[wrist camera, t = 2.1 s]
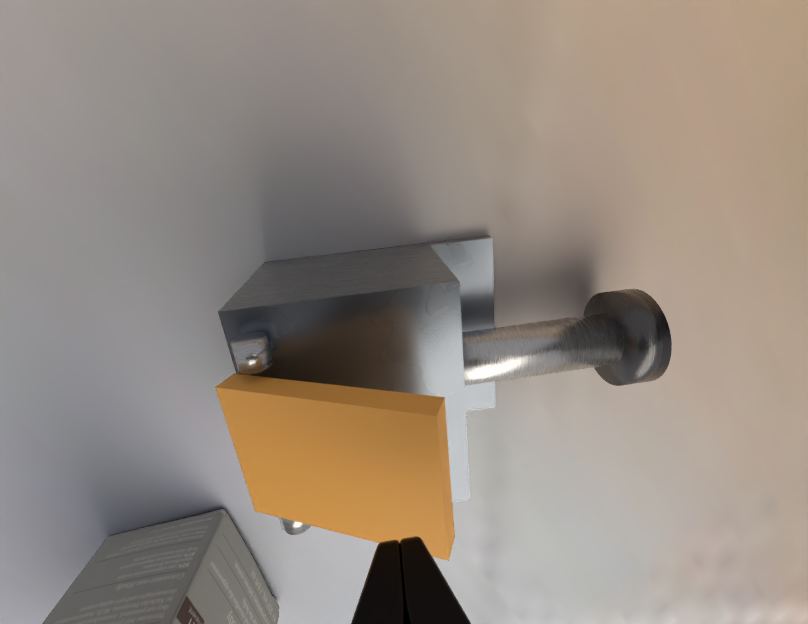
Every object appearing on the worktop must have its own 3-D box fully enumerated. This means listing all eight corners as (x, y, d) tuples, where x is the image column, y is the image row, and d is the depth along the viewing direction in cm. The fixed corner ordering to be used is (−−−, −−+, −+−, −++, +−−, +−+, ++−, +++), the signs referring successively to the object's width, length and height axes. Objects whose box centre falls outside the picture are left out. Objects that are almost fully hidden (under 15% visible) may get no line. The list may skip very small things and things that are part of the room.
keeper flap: (444, 397, 9) (436, 416, 8) (454, 536, 10) (448, 560, 10) (234, 373, 11) (215, 387, 10) (269, 492, 13) (255, 511, 12)
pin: (613, 277, 16) (678, 307, 13) (605, 354, 18) (662, 400, 14) (338, 313, 16) (333, 354, 12) (352, 390, 17) (350, 446, 14)
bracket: (489, 235, 16) (563, 279, 10) (492, 401, 19) (551, 509, 13) (264, 262, 15) (205, 325, 10) (304, 428, 18) (277, 554, 12)
